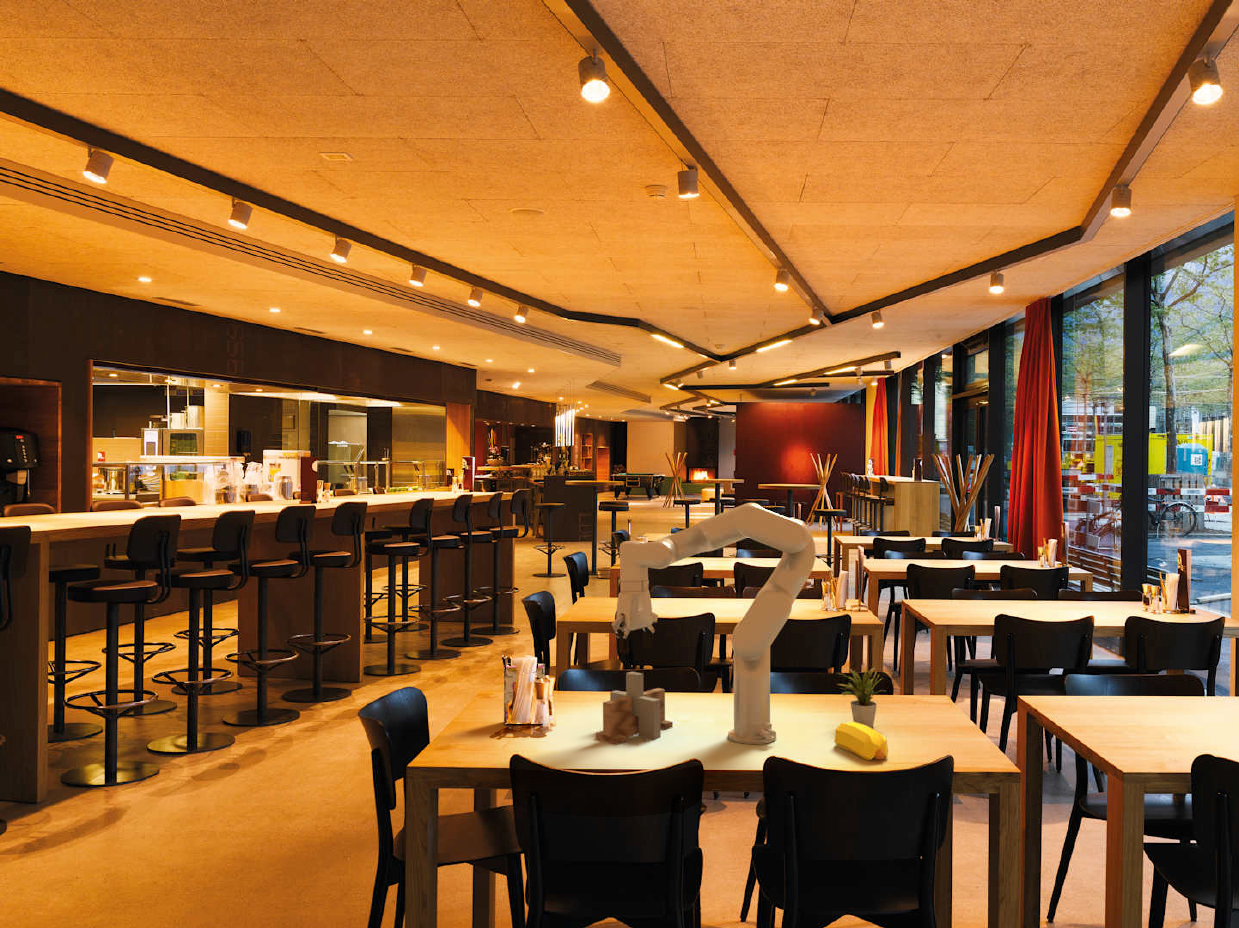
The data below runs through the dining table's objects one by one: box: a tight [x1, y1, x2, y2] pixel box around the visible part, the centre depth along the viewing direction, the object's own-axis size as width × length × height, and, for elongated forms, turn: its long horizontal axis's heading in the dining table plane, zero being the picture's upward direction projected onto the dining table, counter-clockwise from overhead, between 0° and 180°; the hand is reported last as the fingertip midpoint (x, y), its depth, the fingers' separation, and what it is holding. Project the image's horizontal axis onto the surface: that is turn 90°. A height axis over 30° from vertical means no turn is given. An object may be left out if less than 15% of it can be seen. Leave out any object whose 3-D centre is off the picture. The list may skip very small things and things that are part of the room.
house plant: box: [837, 667, 886, 729], centre depth 264 cm, size 14×14×16 cm
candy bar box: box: [503, 663, 546, 725], centre depth 267 cm, size 11×5×16 cm, turn 92°
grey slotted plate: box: [609, 671, 661, 740], centre depth 257 cm, size 16×2×16 cm, turn 47°
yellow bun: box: [834, 721, 889, 761], centre depth 238 cm, size 18×7×8 cm
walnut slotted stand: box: [595, 687, 674, 745], centre depth 257 cm, size 22×8×10 cm, turn 137°
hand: (636, 650), depth 257 cm, fingers open, 9 cm apart
